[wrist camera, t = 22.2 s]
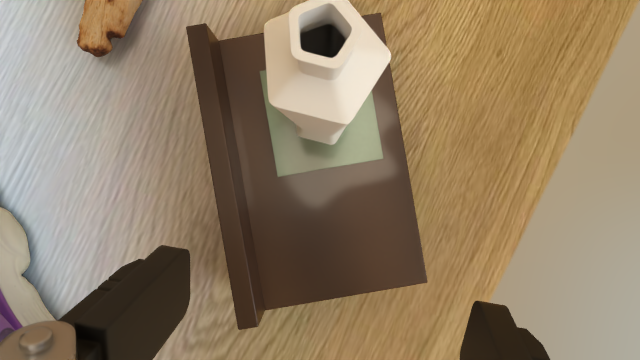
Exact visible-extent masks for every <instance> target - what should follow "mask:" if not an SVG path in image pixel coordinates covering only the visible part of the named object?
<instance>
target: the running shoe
mask: <svg viewBox="0 0 640 360" xmlns="http://www.w3.org/2000/svg"><path fill="white" fill-rule="evenodd" d="M29 264H30V253H29V247H28V241H27V237H26V234H25V232H24V230H23V228H22V226H21V225H20V224H19V223H18V222H17V220H16V219H15V218H14V216H13V215H12V214H11V213H10V212H9V211H8V210H6V209H3V208H1V207H0V342H1V341H2V340H3V339H4V338H5V337H7V336H8V335H9V334H11V333H12V332H14V331H16V330H18V329H20V328H22V327H24V326H27V325H30V324H33V323H37V322H42V321H51V320H54V321H56V320H55V319H54V317H53V316H52V315H51V314H50V313H49V311H48V310H47V309H46V307H45V305H44V304H43V302H42V301H41V298H40V296H39V294H38V291H37V290H36V289H35V288H34V286H33V285H32V284H31V283H29V282H28V281H27V280H26V278H25V277H22V275H21V274H23V273H24V271H25V270H26V269H27V268H28V267H29Z"/></svg>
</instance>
